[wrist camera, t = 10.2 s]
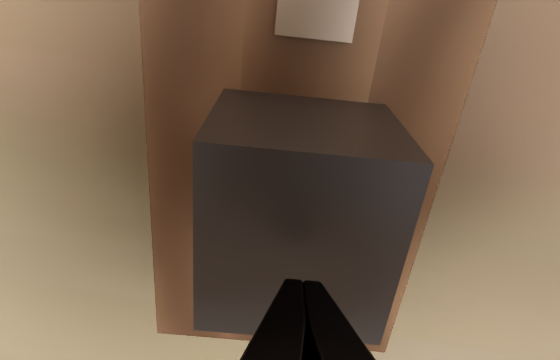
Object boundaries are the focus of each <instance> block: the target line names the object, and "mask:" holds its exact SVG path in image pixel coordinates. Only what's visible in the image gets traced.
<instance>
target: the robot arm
mask: <svg viewBox="0 0 560 360" xmlns="http://www.w3.org/2000/svg"><path fill="white" fill-rule="evenodd" d="M240 360H376V359H375V358H374V357H373V355H372V354H371V352H370V351H369V349H368V348H367V347H366V345H365V344H364V342H363V341H362V339H361V338H360V337H359V335H358V334H357V332H356V331H355V330H354V328H353V327H352V325H351V324H350V322H349V321H348V320H347V318H346V317H345V315H344V314H343V312H342V311H341V310H340V308H339V307H338V305H337V304H336V302H335V301H334V300H333V298H332V297H331V295H330V294H329V292H328V291H327V290H326V288H325V287H324V285H323V284H322V283H321V282H320V281H312V280H305V281H304V282H302V280H300V279H290V278H287V279H285V280H284V282H283V283H282V285H281V287H280V289H279V290H278V292H277V294H276V296H275V298H274V299H273V301H272V303H271V305H270V307H269V308H268V310H267V312H266V314H265V316H264V317H263V319H262V321H261V323H260V325H259V326H258V328H257V330H256V332H255V333H254V335H253V337H252V339H251V341H250V342H249V344H248V346H247V348H246V350H245V351H244V353H243V355H242V357H241V359H240Z"/></svg>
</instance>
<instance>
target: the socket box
mask: <svg viewBox="0 0 560 360" xmlns="http://www.w3.org/2000/svg"><path fill="white" fill-rule="evenodd" d="M496 3H497V0H139V10H140V28H141V47H142V65H143V83H144V101H145V119H146V138H147V156H148V174H149V192H150V211H151V229H152V247H153V265H154V283H155V302H156V320H157V333H165V334H177V335H188V336H200V337H212V338H224V339H235V340H247V341H251V339H252V337H253V335H246V334H234V333H222V332H209V331H197V330H193V145H192V141H193V140H194V138H195V136H196V135H197V133H198V131H199V130H200V128H201V126H202V125H203V123H204V121H205V120H206V118H207V116H208V115H209V113H210V111H211V109H212V108H213V106H214V104H215V103H216V101H217V99H218V98H219V96H220V94H221V93H222V91H223V89H224V88H225V89H235V90H245V91H255V92H265V93H275V94H286V95H296V96H306V97H316V98H326V99H336V100H346V101H356V102H366V103H376V104H386V105H387V106H388V108H389V109H390V110H391V111H392V113H393V114H394V115H395V116H396V117H397V119H398V120H399V121H400V122H401V124H402V125H403V126H404V127H405V129H406V130H407V131H408V132H409V134H410V135H411V136H412V137H413V139H414V140H415V141H416V142H417V144H418V145H419V146H420V147H421V148H422V150H423V151H424V152H425V153H426V155H427V156H428V157H429V158H430V160H431V161H432V162H433V163H434V167H433V171H432V174H431V177H430V181H429V184H428V187H427V191H426V194H425V197H424V201H423V204H422V207H421V211H420V214H419V217H418V221H417V224H416V227H415V231H414V234H413V237H412V241H411V244H410V247H409V251H408V254H407V257H406V261H405V264H404V267H403V271H402V274H401V277H400V281H399V284H398V287H397V291H396V294H395V297H394V301H393V304H392V307H391V311H390V314H389V318H388V321H387V324H386V328H385V331H384V334H383V338H382V341H381V344H380V345H369V344H365V345H366V347H367V348H368V349H369V351H376V352H385V350H386V347H387V344H388V341H389V338H390V335H391V332H392V328H393V325H394V322H395V319H396V316H397V313H398V310H399V307H400V303H401V300H402V297H403V294H404V291H405V288H406V285H407V281H408V278H409V275H410V272H411V269H412V266H413V263H414V260H415V256H416V253H417V250H418V247H419V244H420V241H421V238H422V235H423V231H424V228H425V225H426V222H427V219H428V216H429V213H430V210H431V206H432V203H433V200H434V197H435V194H436V191H437V188H438V184H439V181H440V178H441V175H442V172H443V169H444V166H445V163H446V159H447V156H448V153H449V150H450V147H451V144H452V141H453V138H454V134H455V131H456V128H457V125H458V122H459V119H460V116H461V113H462V109H463V106H464V103H465V100H466V97H467V94H468V91H469V87H470V84H471V81H472V78H473V75H474V72H475V69H476V66H477V62H478V59H479V56H480V53H481V50H482V47H483V44H484V41H485V37H486V34H487V31H488V28H489V25H490V22H491V19H492V15H493V12H494V9H495V6H496Z"/></svg>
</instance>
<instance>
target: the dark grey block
mask: <svg viewBox="0 0 560 360" xmlns="http://www.w3.org/2000/svg"><path fill="white" fill-rule="evenodd" d="M192 145H193V330H197V331H209V332H222V333H234V334H246V335H254V333H255V332H256V330H257V328H258V326H259V325H260V323H261V321H262V319H263V317H264V316H265V314H266V312H267V310H268V308H269V307H270V305H271V303H272V301H273V299H274V298H275V296H276V294H277V292H278V290H279V289H280V287H281V285H282V283H283V282H284V280H285V279H287V278H290V279H300V280H302V282H304V281H305V280H312V281H320V282H321V283H322V284H323V285H324V287H325V288H326V290H327V291H328V292H329V294H330V295H331V297H332V298H333V300H334V301H335V302H336V304H337V305H338V307H339V308H340V310H341V311H342V312H343V314H344V315H345V317H346V318H347V320H348V321H349V322H350V324H351V325H352V327H353V328H354V330H355V331H356V332H357V334H358V335H359V337H360V338H361V339H362V341H363V342H364V344H369V345H380V344H381V341H382V338H383V334H384V331H385V328H386V324H387V321H388V318H389V314H390V311H391V307H392V304H393V301H394V297H395V294H396V291H397V287H398V284H399V281H400V277H401V274H402V271H403V267H404V264H405V261H406V257H407V254H408V251H409V247H410V244H411V241H412V237H413V234H414V231H415V227H416V224H417V221H418V217H419V214H420V211H421V207H422V204H423V201H424V197H425V194H426V191H427V187H428V184H429V181H430V177H431V174H432V171H433V167H434V163H433V162H432V161H431V160H430V158H429V157H428V156H427V155H426V153H425V152H424V151H423V150H422V148H421V147H420V146H419V145H418V144H417V142H416V141H415V140H414V139H413V137H412V136H411V135H410V134H409V132H408V131H407V130H406V129H405V127H404V126H403V125H402V124H401V122H400V121H399V120H398V119H397V117H396V116H395V115H394V114H393V113H392V111H391V110H390V109H389V108H388V106H387V105H386V104H376V103H366V102H356V101H346V100H336V99H326V98H316V97H306V96H296V95H286V94H275V93H265V92H255V91H245V90H235V89H225V88H224V89H223V91H222V93H221V94H220V96H219V98H218V99H217V101H216V103H215V104H214V106H213V108H212V109H211V111H210V113H209V115H208V116H207V118H206V120H205V121H204V123H203V125H202V126H201V128H200V130H199V131H198V133H197V135H196V136H195V138H194V140H193V141H192Z"/></svg>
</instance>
